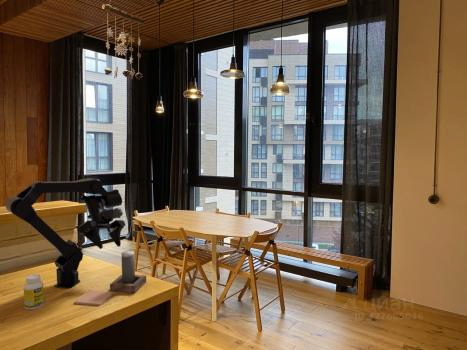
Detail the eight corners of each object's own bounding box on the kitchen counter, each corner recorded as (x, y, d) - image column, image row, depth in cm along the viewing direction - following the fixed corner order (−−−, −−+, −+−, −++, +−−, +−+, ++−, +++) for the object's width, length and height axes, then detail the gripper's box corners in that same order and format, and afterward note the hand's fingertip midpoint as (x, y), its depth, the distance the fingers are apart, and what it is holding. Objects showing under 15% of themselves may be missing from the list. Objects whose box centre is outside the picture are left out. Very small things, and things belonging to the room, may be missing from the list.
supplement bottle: (35, 310, 108) (33, 280, 107) (20, 309, 109) (18, 278, 108) (48, 303, 113) (46, 273, 112) (33, 301, 114) (32, 272, 113)
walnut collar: (110, 291, 122) (109, 284, 122) (122, 280, 132) (122, 274, 131) (135, 292, 121) (135, 286, 121) (146, 282, 130) (146, 275, 130)
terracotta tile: (74, 303, 113) (74, 301, 113) (89, 291, 121) (89, 290, 121) (99, 305, 111) (99, 303, 111) (113, 293, 120) (113, 291, 120)
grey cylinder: (120, 288, 124) (119, 254, 123) (125, 283, 129) (124, 250, 128) (131, 289, 124) (131, 255, 122) (137, 284, 128) (136, 251, 127)
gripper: (92, 198, 121) (108, 238, 116) (128, 200, 138) (142, 235, 134) (71, 214, 124) (85, 253, 119) (108, 214, 141) (121, 249, 137)
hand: (110, 247), depth 127 cm, fingers open, 9 cm apart
